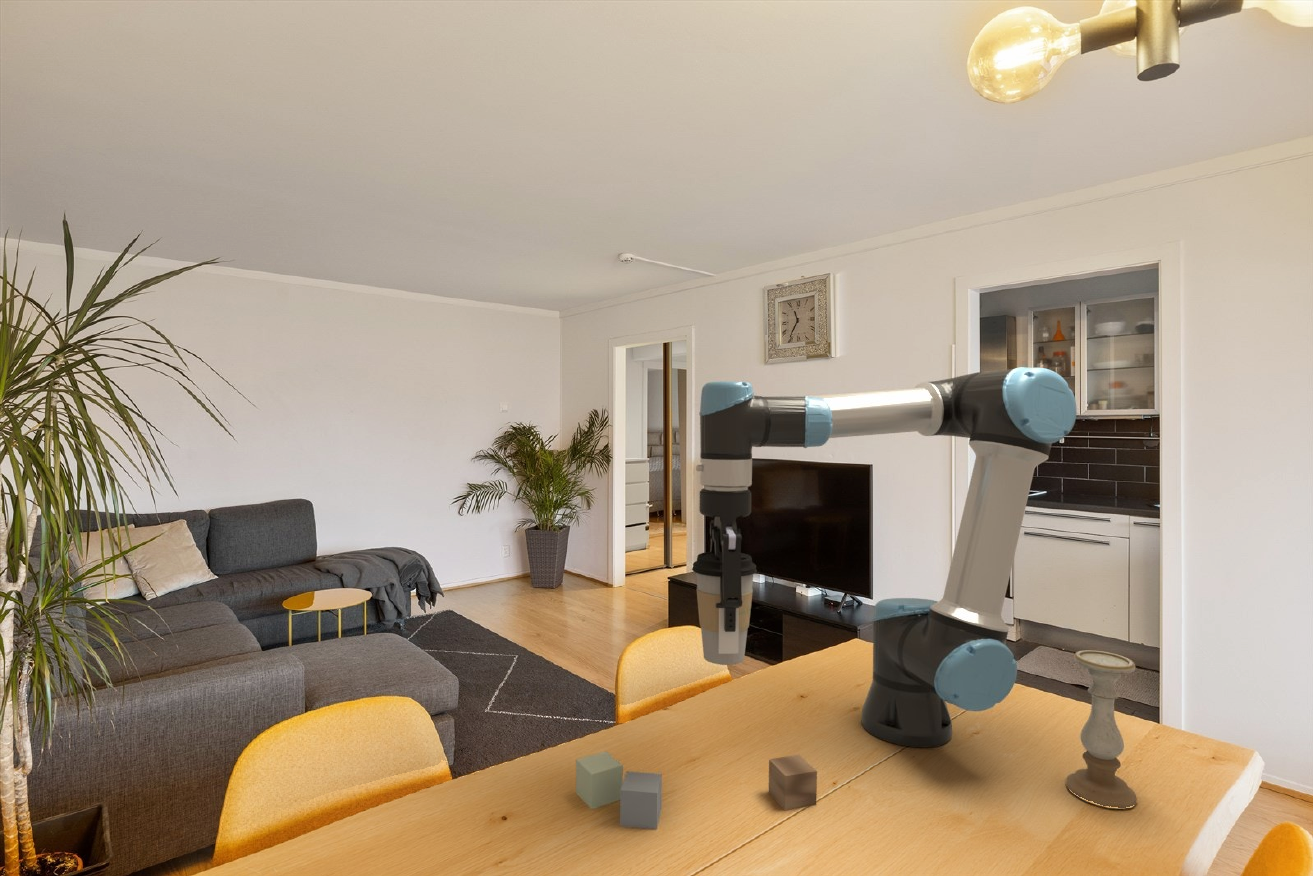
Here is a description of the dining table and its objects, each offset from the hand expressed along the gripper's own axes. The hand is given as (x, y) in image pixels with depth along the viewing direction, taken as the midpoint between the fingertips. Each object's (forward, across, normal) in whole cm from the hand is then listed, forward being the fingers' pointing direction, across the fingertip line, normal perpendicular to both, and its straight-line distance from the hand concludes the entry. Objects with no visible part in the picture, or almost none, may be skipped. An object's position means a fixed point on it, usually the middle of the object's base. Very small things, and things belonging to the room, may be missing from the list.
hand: (723, 642), depth 100 cm
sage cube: (+22, 0, -18) cm, 29 cm away
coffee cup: (+3, 0, 0) cm, 3 cm away
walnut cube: (+22, +2, +10) cm, 25 cm away
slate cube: (+22, +6, -12) cm, 26 cm away
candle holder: (+23, +2, +56) cm, 60 cm away
